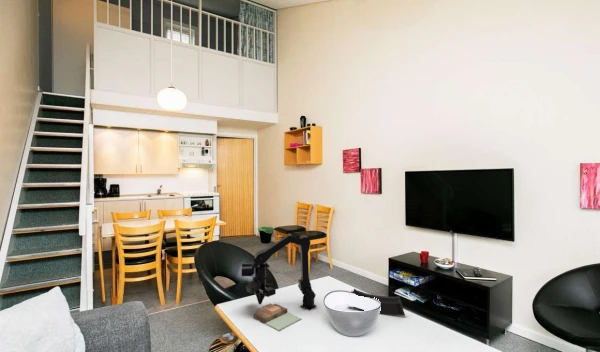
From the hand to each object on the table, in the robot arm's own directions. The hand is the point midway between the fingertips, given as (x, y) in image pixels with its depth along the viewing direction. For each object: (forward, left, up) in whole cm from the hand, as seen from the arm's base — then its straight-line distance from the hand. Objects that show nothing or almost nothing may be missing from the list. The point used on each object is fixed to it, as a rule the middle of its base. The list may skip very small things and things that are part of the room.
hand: (259, 304), depth 164 cm
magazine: (-42, +46, -4) cm, 62 cm away
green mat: (0, +18, -4) cm, 18 cm away
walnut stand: (0, +8, -4) cm, 9 cm away
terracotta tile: (0, +9, -1) cm, 9 cm away
